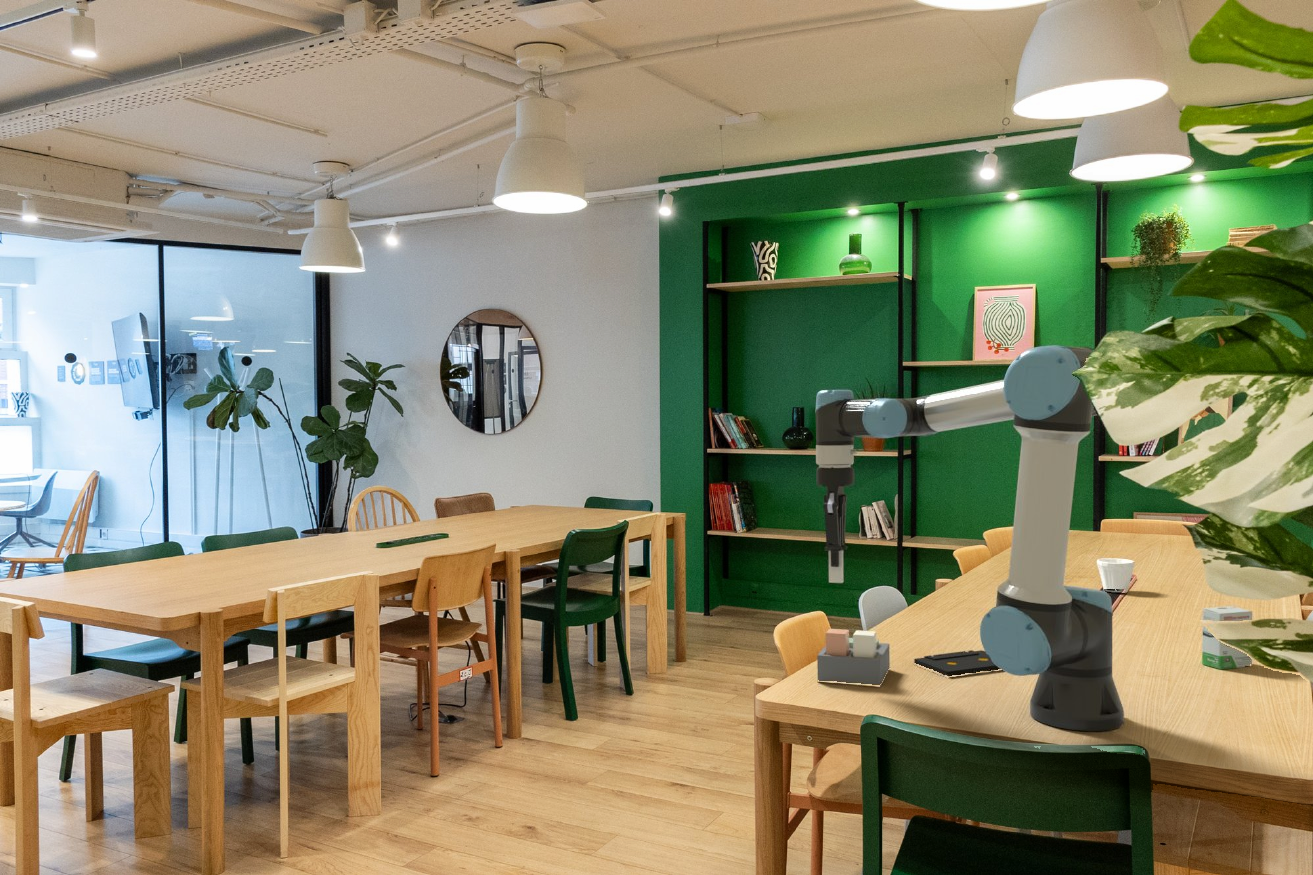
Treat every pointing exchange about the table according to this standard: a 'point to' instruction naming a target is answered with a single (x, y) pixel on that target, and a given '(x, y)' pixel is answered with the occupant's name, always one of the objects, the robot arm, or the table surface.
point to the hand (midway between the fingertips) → (836, 581)
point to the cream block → (864, 644)
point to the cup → (1115, 573)
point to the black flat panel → (958, 662)
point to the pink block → (837, 642)
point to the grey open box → (854, 666)
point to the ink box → (1217, 651)
